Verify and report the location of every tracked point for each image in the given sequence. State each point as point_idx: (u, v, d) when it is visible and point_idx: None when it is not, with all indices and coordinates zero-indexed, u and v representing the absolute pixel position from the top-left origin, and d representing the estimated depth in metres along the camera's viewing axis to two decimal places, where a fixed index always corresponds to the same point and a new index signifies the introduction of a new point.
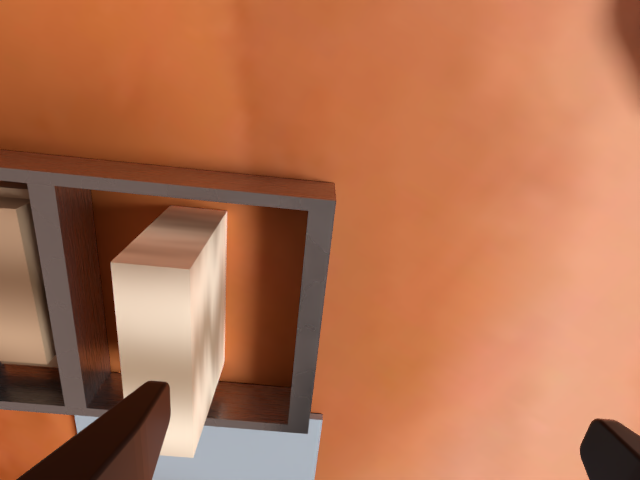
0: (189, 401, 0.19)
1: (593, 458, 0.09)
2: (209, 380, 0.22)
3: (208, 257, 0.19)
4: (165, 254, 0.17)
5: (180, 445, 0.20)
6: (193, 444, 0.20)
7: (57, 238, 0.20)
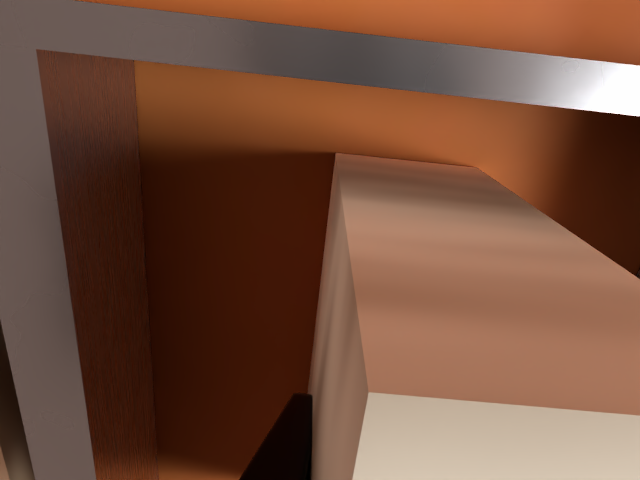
0: None
1: None
2: None
3: None
4: (563, 315, 0.04)
5: None
6: None
7: (48, 235, 0.06)
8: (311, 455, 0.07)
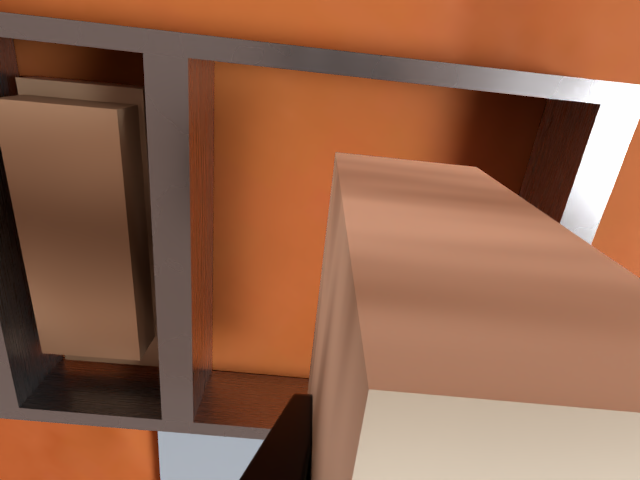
0: None
1: None
2: None
3: None
4: (562, 313, 0.04)
5: None
6: None
7: (182, 153, 0.12)
8: (311, 454, 0.07)
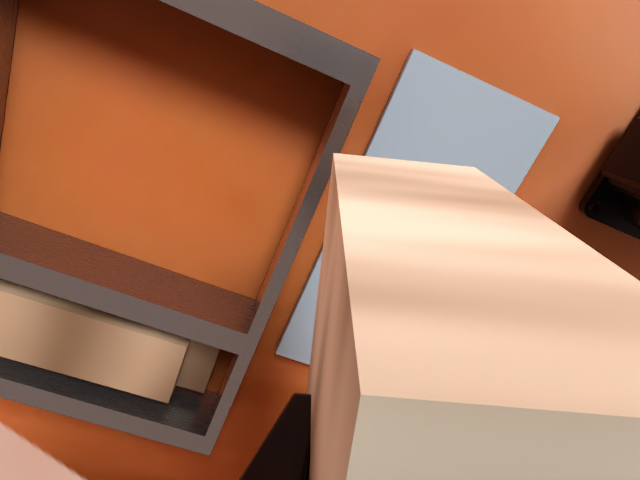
0: None
1: None
2: None
3: None
4: (559, 315, 0.03)
5: None
6: None
7: (5, 259, 0.18)
8: None
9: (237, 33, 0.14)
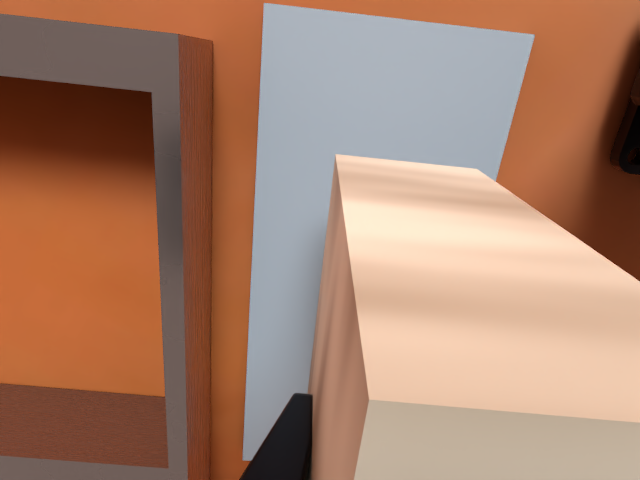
0: None
1: None
2: None
3: None
4: (564, 319, 0.03)
5: None
6: None
7: None
8: (311, 458, 0.07)
9: None
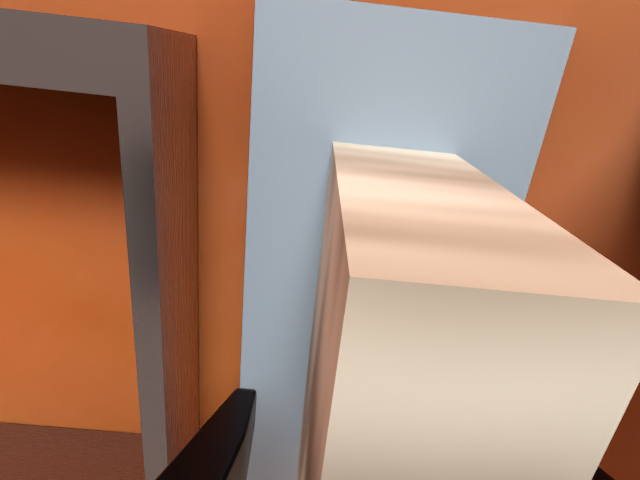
0: None
1: None
2: None
3: None
4: (494, 246, 0.05)
5: None
6: None
7: None
8: (312, 392, 0.08)
9: None
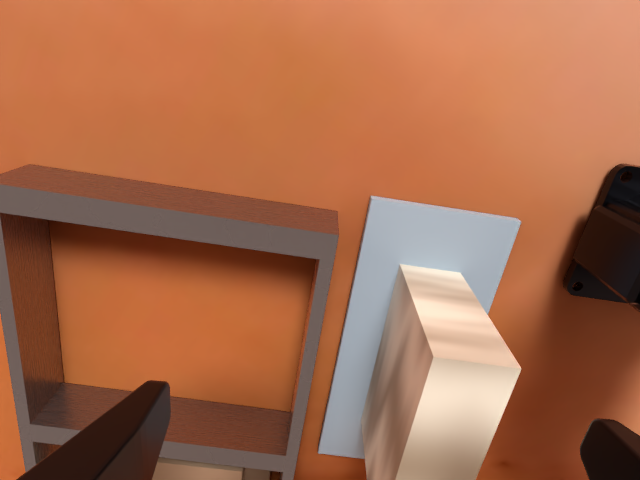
0: None
1: (593, 458, 0.09)
2: None
3: None
4: (473, 343, 0.15)
5: None
6: None
7: None
8: (392, 388, 0.19)
9: (217, 243, 0.17)
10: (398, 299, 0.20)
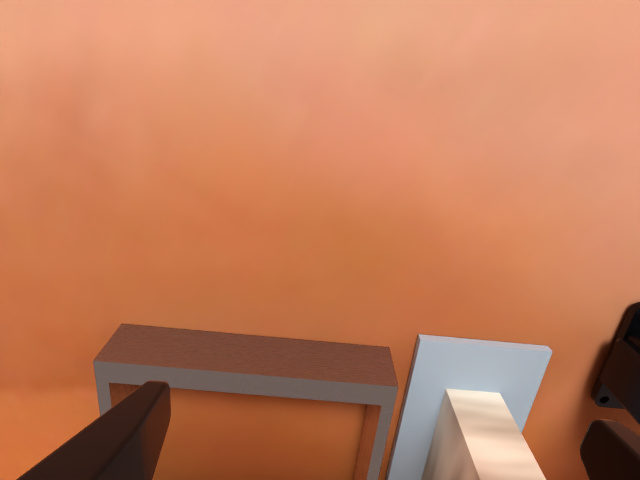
0: None
1: (593, 458, 0.09)
2: None
3: None
4: None
5: None
6: None
7: None
8: None
9: (293, 396, 0.20)
10: (447, 423, 0.23)
